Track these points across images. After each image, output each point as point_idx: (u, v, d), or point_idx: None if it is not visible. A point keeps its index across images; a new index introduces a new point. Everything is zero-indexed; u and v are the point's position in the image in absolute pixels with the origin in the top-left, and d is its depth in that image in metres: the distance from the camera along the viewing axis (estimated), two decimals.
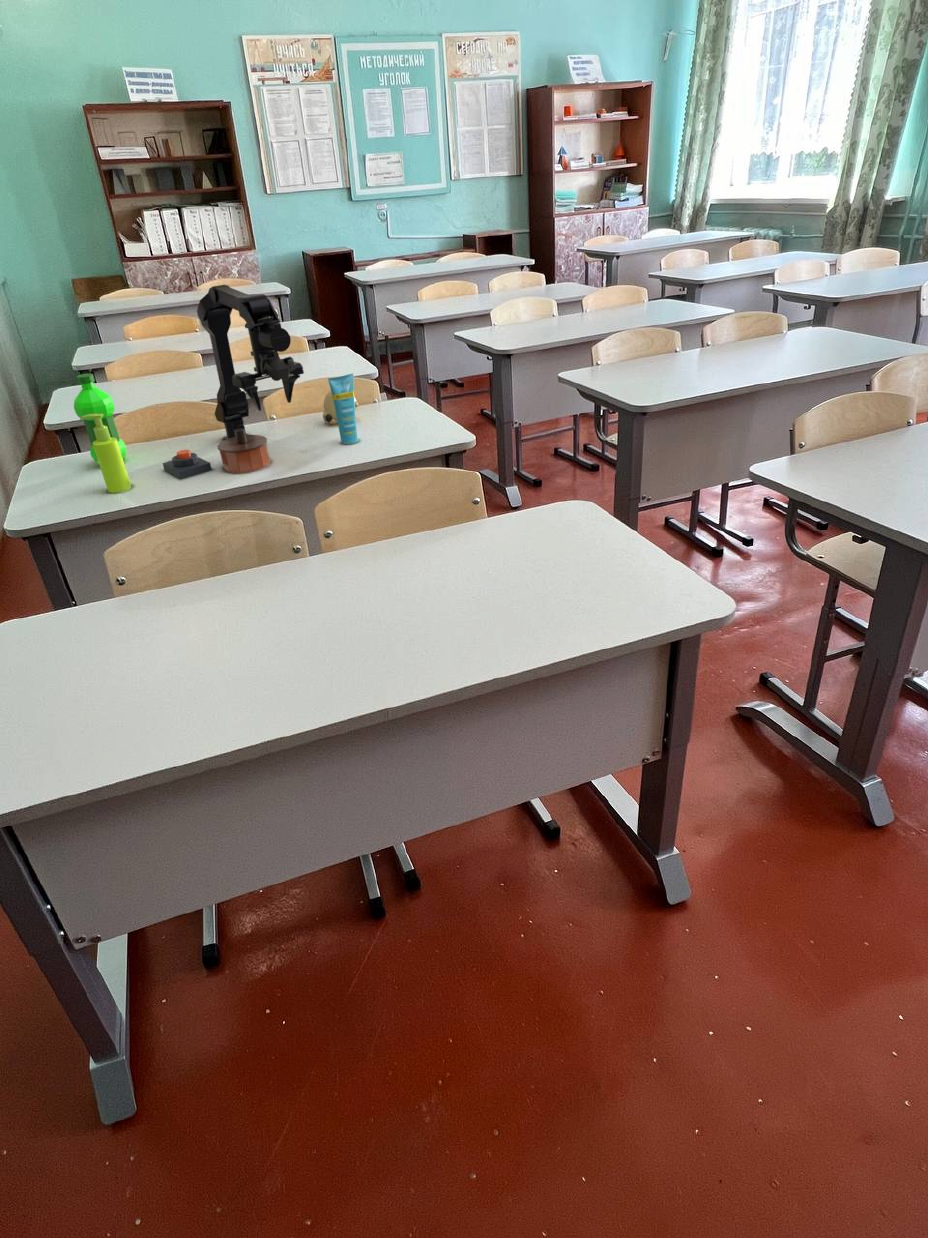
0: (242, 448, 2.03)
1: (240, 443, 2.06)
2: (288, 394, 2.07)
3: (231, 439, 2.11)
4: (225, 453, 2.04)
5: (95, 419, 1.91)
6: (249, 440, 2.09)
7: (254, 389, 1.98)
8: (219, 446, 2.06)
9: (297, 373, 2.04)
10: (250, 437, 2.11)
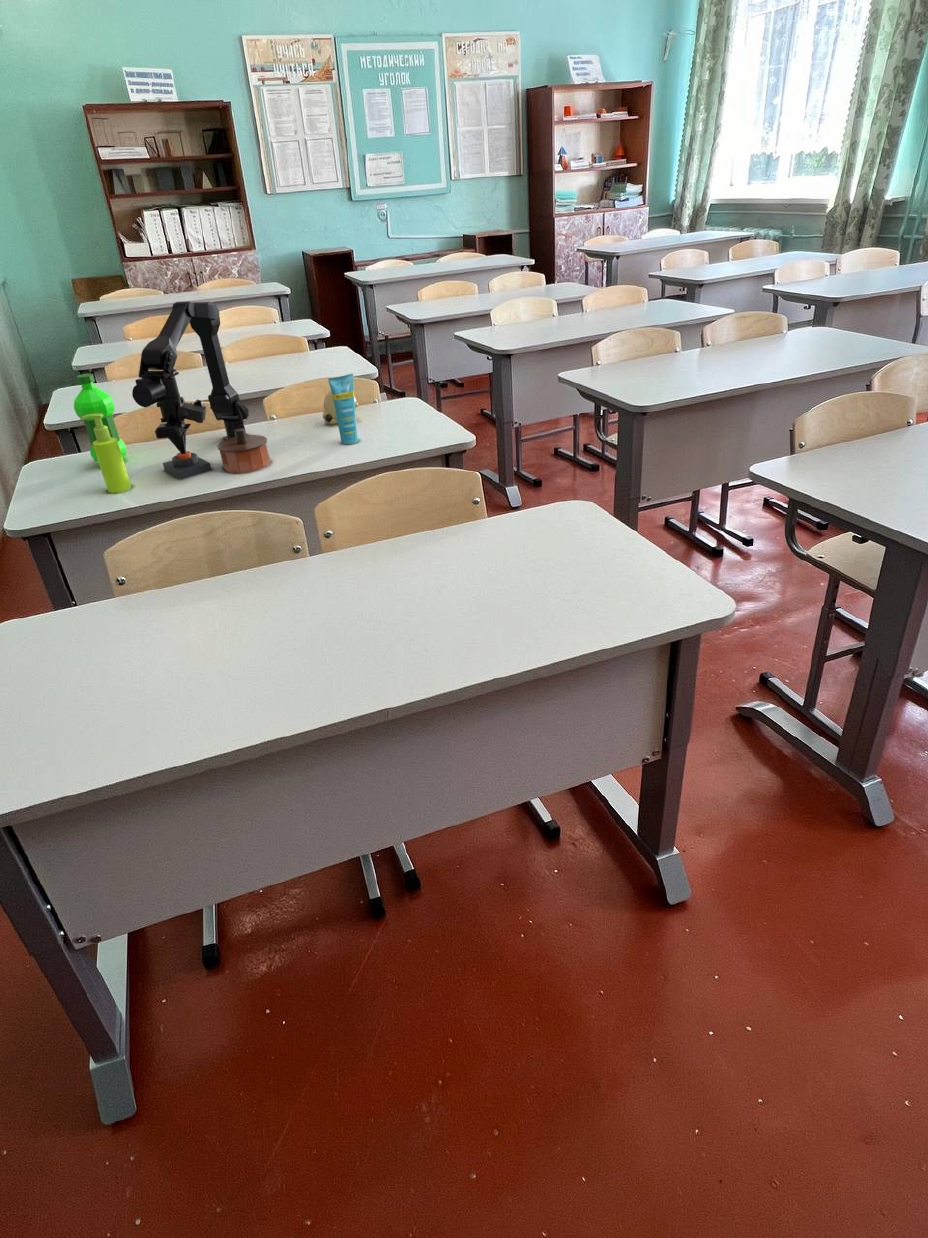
0: (242, 448, 2.03)
1: (240, 443, 2.06)
2: None
3: (231, 439, 2.11)
4: (225, 453, 2.04)
5: (95, 419, 1.91)
6: (249, 440, 2.09)
7: (185, 431, 2.03)
8: (219, 446, 2.06)
9: None
10: (250, 437, 2.11)
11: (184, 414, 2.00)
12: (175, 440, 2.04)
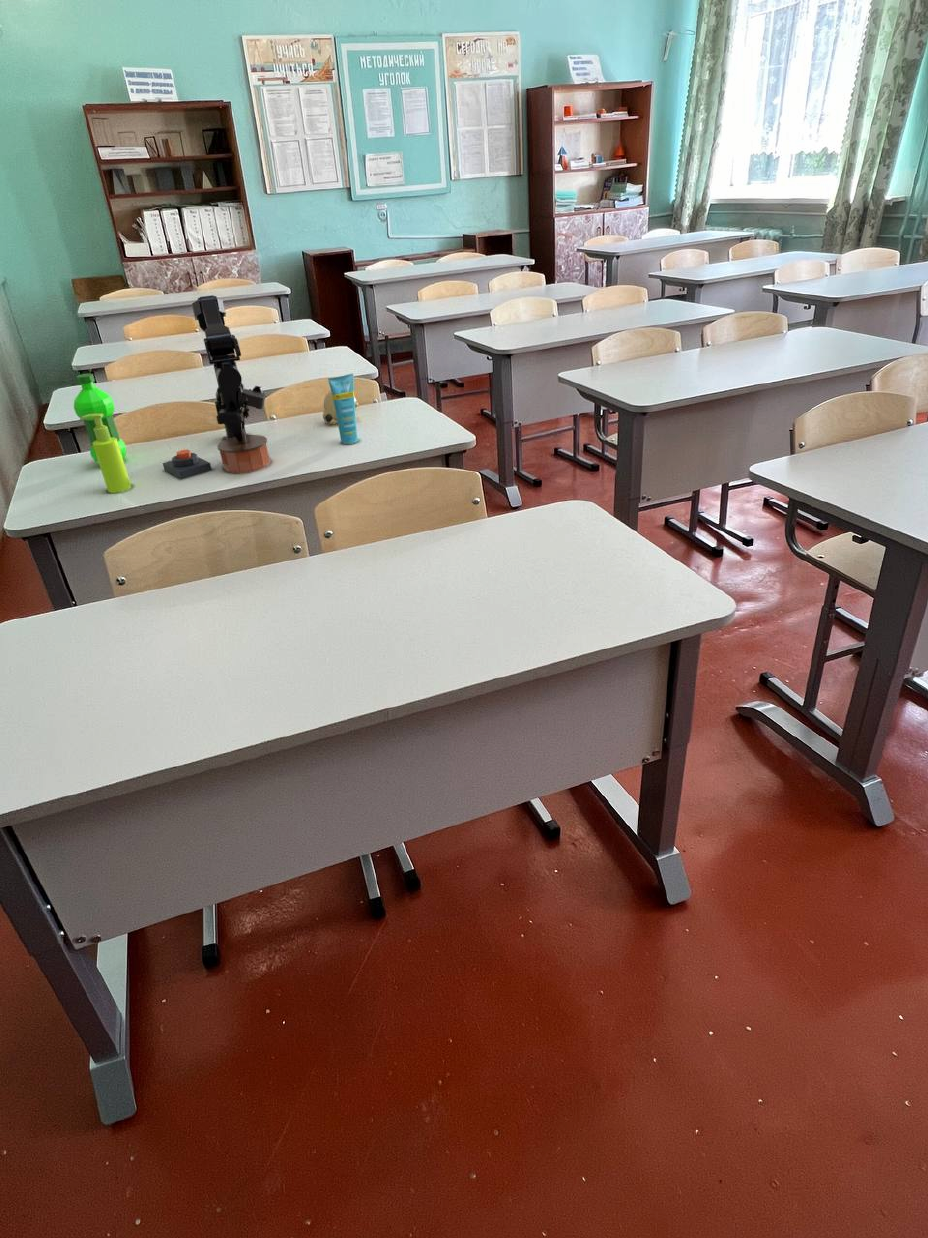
0: (242, 448, 2.03)
1: (240, 443, 2.06)
2: None
3: (231, 439, 2.11)
4: (225, 453, 2.04)
5: (95, 419, 1.91)
6: (249, 440, 2.09)
7: (244, 418, 2.01)
8: (219, 446, 2.06)
9: None
10: (250, 437, 2.11)
11: (244, 400, 1.99)
12: (233, 428, 2.03)
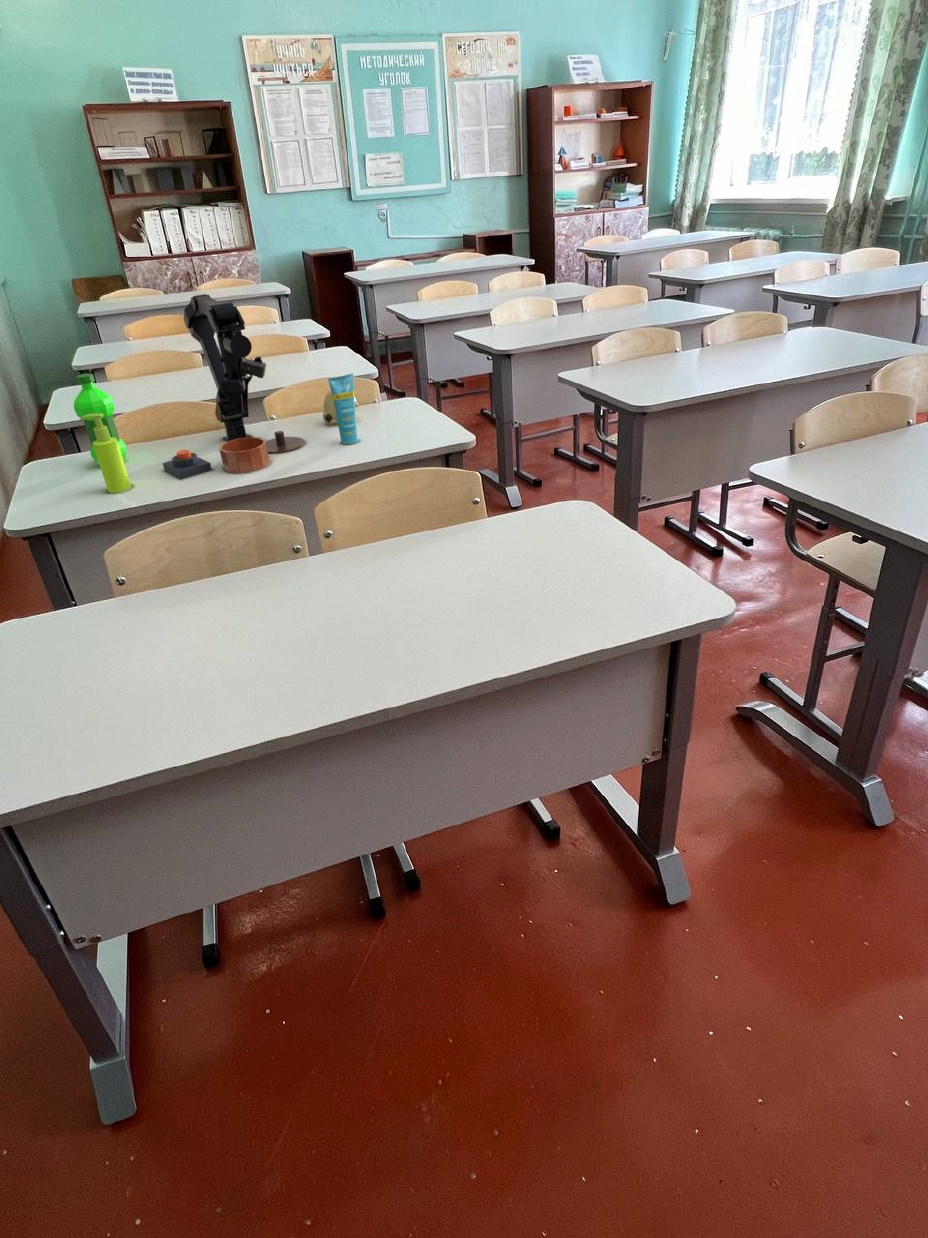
0: (282, 449, 2.19)
1: (279, 444, 2.22)
2: (246, 395, 2.20)
3: (270, 441, 2.27)
4: (225, 453, 2.04)
5: (95, 419, 1.91)
6: (287, 442, 2.25)
7: None
8: None
9: None
10: (288, 439, 2.27)
11: (246, 369, 2.09)
12: (233, 399, 2.10)
